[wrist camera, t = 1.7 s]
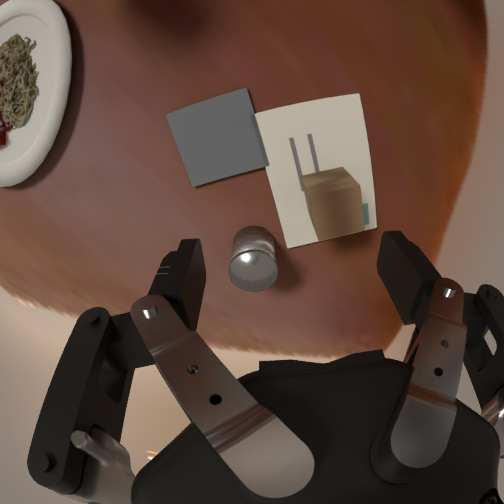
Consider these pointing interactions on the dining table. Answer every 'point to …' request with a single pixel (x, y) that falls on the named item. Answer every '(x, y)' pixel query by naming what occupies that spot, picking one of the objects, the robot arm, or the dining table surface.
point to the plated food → (31, 84)
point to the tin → (253, 259)
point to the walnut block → (333, 203)
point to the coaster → (218, 137)
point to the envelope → (314, 157)
